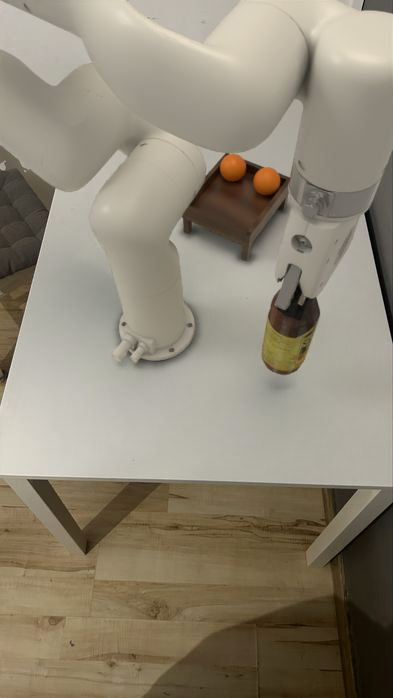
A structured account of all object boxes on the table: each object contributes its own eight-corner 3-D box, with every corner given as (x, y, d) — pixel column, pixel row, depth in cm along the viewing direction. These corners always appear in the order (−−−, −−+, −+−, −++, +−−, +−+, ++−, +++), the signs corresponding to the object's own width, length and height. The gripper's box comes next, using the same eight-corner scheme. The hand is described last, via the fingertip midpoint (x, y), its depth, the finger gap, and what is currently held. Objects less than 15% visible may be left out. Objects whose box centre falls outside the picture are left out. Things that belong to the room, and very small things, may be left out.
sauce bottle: (301, 380, 70) (332, 302, 53) (257, 372, 71) (273, 293, 53) (306, 340, 73) (336, 254, 56) (263, 333, 74) (280, 246, 56)
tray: (247, 262, 90) (249, 235, 84) (182, 232, 94) (180, 205, 88) (287, 206, 97) (292, 178, 91) (225, 181, 101) (226, 152, 94)
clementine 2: (270, 204, 90) (273, 184, 86) (247, 195, 92) (249, 174, 87) (283, 188, 92) (286, 167, 88) (260, 179, 93) (262, 158, 89)
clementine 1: (237, 190, 92) (238, 169, 88) (215, 181, 94) (215, 160, 89) (250, 174, 94) (251, 153, 90) (228, 166, 95) (228, 144, 91)
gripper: (332, 261, 39) (295, 367, 55) (410, 138, 46) (356, 264, 62) (248, 223, 41) (236, 336, 57) (334, 111, 48) (301, 240, 64)
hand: (299, 298), depth 59 cm, fingers closed on sauce bottle, 4 cm apart
